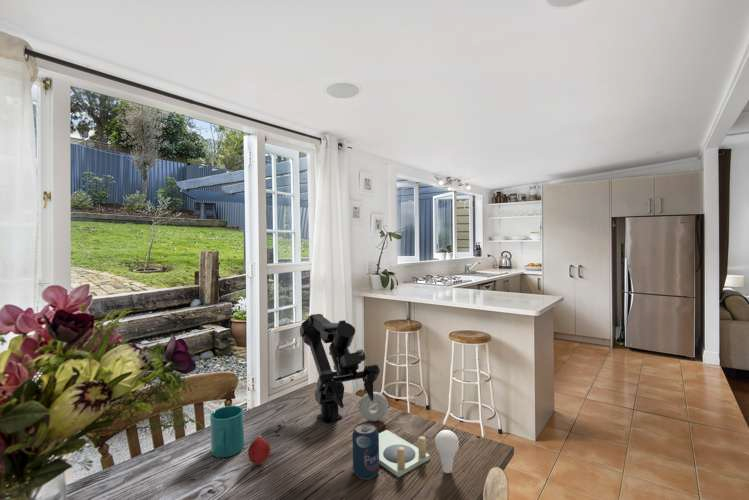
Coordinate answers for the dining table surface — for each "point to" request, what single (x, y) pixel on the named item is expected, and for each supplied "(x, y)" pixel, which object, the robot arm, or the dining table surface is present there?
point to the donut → (377, 413)
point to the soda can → (365, 450)
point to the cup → (227, 431)
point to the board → (393, 441)
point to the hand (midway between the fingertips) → (357, 403)
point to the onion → (259, 451)
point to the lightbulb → (447, 448)
